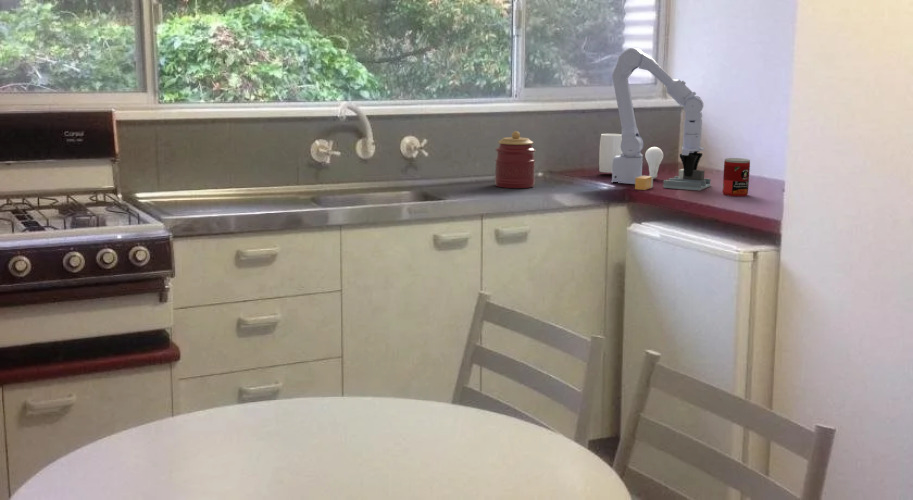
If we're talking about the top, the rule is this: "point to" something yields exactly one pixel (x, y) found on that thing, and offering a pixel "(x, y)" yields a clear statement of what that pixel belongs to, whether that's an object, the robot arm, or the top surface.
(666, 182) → the slot board
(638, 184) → the tall orange block
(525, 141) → the canister
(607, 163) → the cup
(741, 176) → the canned food
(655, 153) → the lightbulb
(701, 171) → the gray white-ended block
